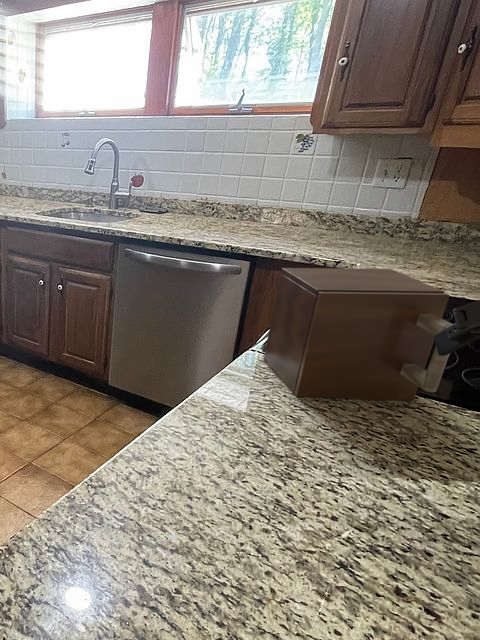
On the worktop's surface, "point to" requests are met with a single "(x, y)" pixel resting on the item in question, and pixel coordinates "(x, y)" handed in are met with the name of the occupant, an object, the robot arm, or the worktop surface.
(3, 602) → the worktop surface
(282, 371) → the cupboard
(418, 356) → the door
